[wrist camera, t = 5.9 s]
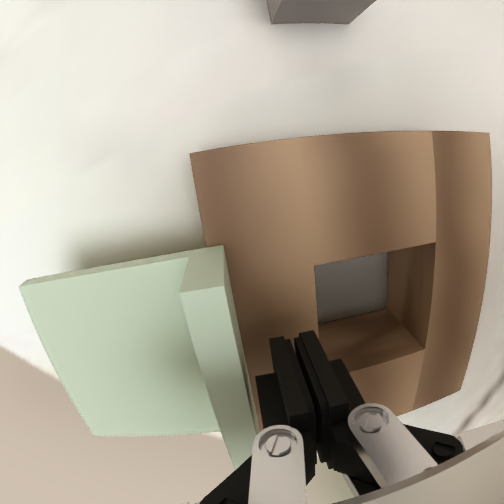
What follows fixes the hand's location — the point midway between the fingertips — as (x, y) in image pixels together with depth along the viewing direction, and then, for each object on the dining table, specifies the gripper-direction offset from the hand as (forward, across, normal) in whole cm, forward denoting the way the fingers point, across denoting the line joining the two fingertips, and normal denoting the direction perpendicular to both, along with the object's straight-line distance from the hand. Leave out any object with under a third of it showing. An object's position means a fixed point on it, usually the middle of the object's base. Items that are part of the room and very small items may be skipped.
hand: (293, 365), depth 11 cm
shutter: (+2, +6, 0) cm, 7 cm away
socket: (+7, -4, 0) cm, 8 cm away
